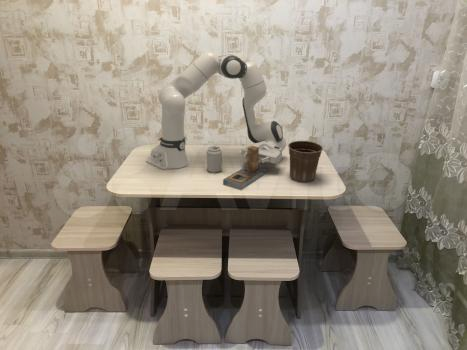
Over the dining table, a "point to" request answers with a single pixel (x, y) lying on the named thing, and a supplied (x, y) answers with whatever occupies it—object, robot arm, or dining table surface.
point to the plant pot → (304, 160)
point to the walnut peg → (252, 159)
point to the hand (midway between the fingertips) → (252, 159)
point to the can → (214, 159)
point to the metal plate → (244, 177)
